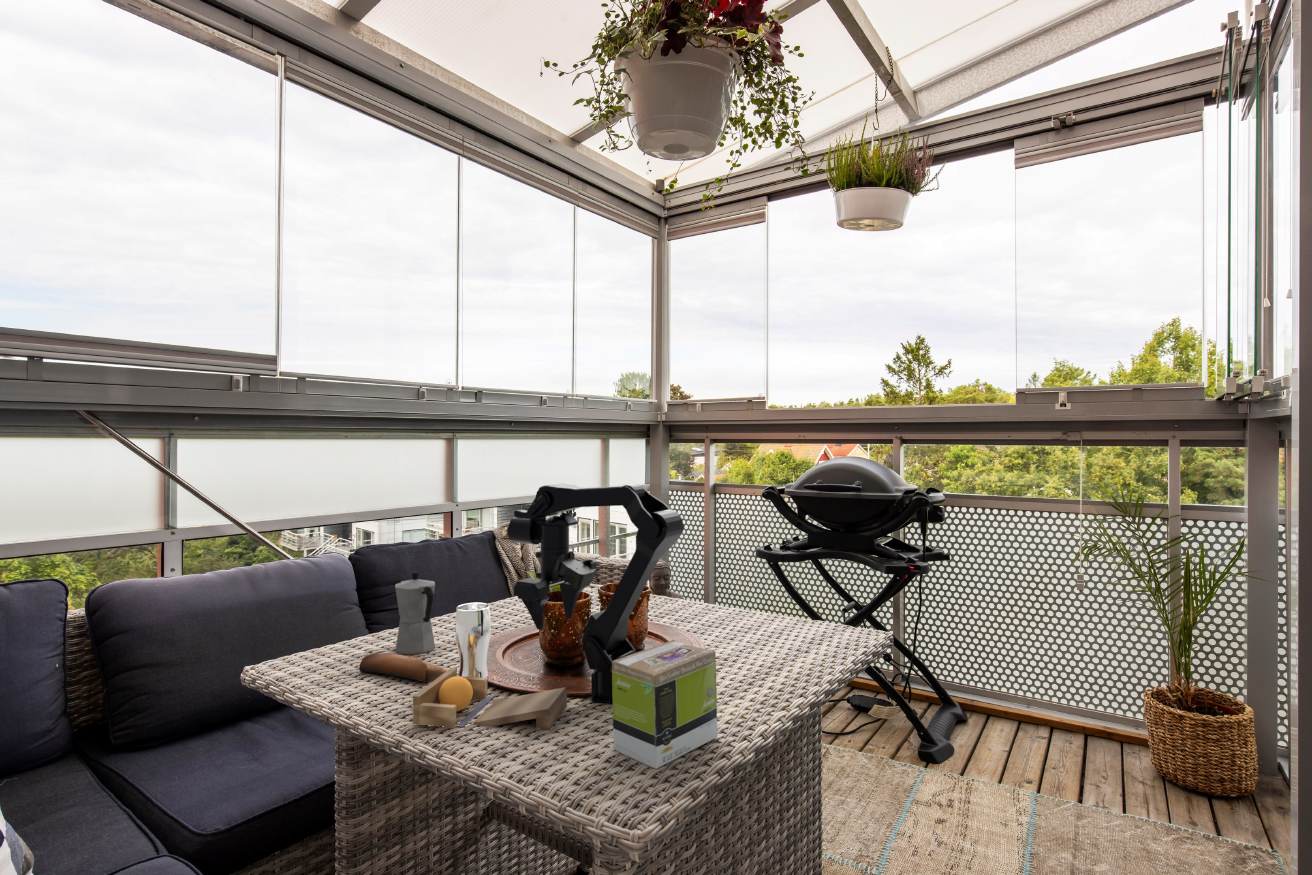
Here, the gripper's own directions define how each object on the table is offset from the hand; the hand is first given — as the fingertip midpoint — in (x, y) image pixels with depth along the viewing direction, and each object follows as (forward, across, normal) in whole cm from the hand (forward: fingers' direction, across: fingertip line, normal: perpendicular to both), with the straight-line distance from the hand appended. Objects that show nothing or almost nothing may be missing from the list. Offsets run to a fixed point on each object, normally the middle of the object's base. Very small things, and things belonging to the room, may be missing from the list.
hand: (554, 623), depth 139 cm
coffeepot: (+12, 0, +41) cm, 43 cm away
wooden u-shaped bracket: (+12, -20, +8) cm, 25 cm away
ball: (+12, -20, +7) cm, 24 cm away
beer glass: (+12, -7, +16) cm, 21 cm away
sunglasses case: (+13, -11, +31) cm, 35 cm away
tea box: (+12, -12, -33) cm, 37 cm away
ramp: (+12, -15, -5) cm, 20 cm away
